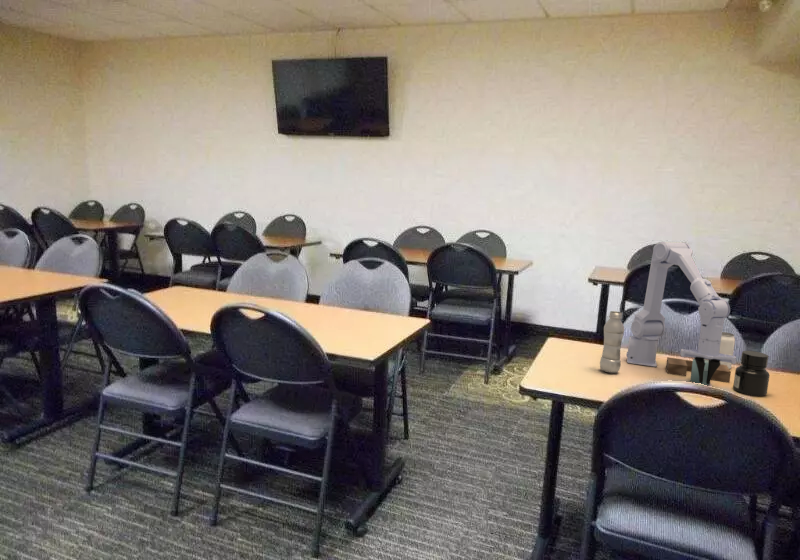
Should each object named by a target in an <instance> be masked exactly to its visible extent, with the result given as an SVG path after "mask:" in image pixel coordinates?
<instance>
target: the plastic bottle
mask: <svg viewBox="0 0 800 560" xmlns="http://www.w3.org/2000/svg"><path fill="white" fill-rule="evenodd" d="M622 315H623V313H622V312H620V311H616V310H615V311H614V310H613V311H612V310H611V311H610V312H609V316H608V317H609V319H608V320H607V321H606V323H605V324H604V326H603V349H602V354H601V357H600V361H599V368H600V370H601V371H603V372H606V373H611V374H616V373H618V372H619V371H620V370H621V366H622V365H621V347H622V341H623V338H624V335H625V334H624V333H625V326H624V324H623V322H622V320H621V319H623V317H622Z"/></svg>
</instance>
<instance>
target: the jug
mask: <svg viewBox="0 0 800 560" xmlns="http://www.w3.org/2000/svg"><path fill="white" fill-rule="evenodd" d="M704 360H705V367H704V372H703V382H702V383H701V384H704V385H707V386H710V384H711V382H710V383H709V384H707V383H706V381H707V375H708V362H709V360H707V359H704ZM692 361H693V362H692V370H691V371H690V378H689V381H692V382H695V383H700V382H699V372H698V368H697V364H696V361H695V358H693V359H692ZM692 382H691V383H692ZM704 385H703V386H704Z"/></svg>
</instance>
